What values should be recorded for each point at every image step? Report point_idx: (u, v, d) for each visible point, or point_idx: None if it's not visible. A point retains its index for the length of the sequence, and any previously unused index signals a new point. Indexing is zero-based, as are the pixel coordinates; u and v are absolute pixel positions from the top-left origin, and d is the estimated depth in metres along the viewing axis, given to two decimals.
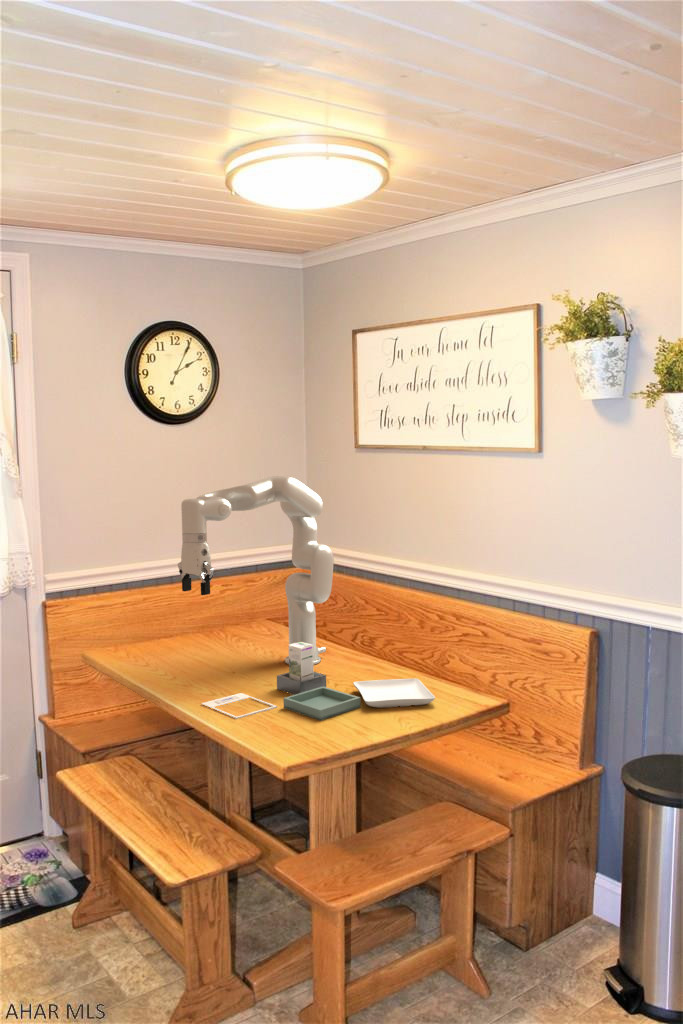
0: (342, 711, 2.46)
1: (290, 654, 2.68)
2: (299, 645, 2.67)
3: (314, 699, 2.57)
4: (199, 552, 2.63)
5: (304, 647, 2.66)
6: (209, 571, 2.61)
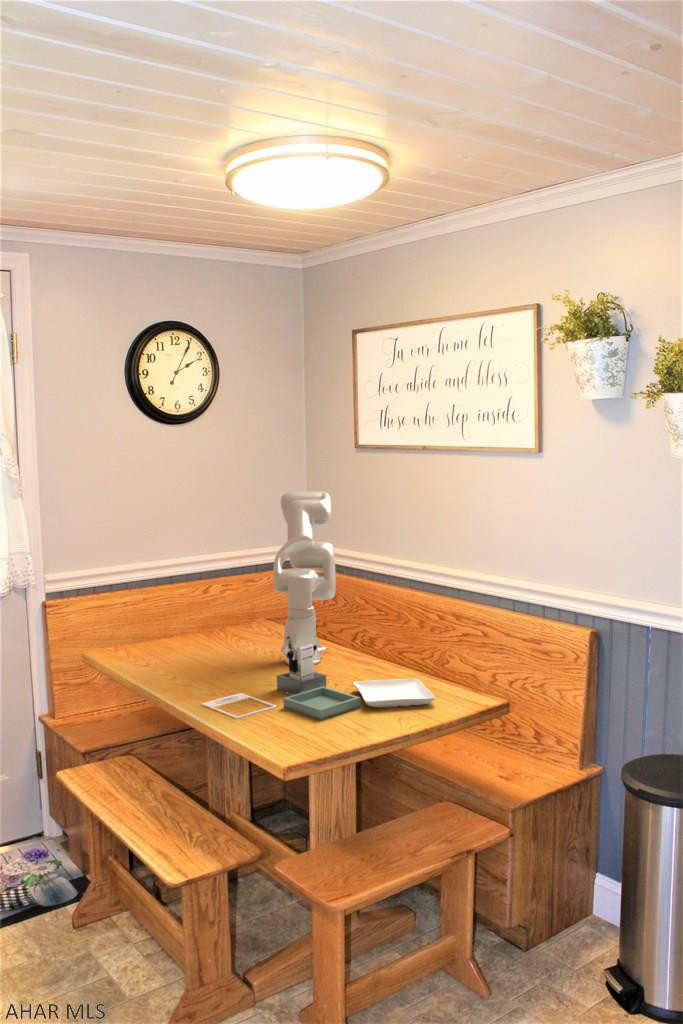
0: (342, 711, 2.46)
1: None
2: None
3: (314, 699, 2.57)
4: None
5: (304, 647, 2.66)
6: (318, 643, 2.73)
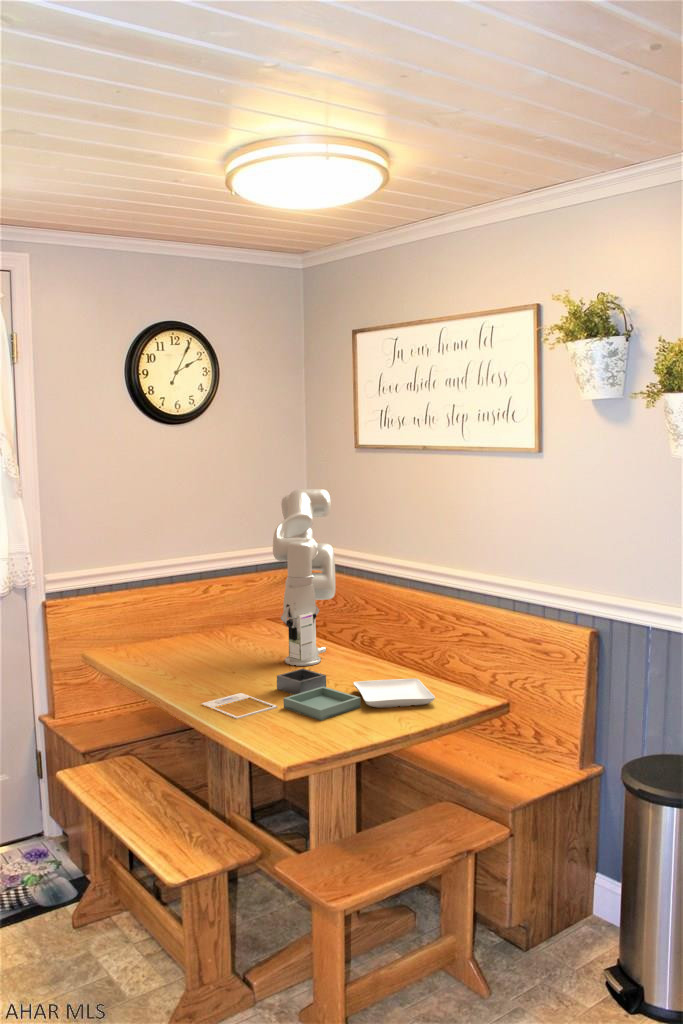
0: (342, 711, 2.46)
1: None
2: None
3: (314, 699, 2.57)
4: None
5: (304, 615, 2.65)
6: (317, 611, 2.72)
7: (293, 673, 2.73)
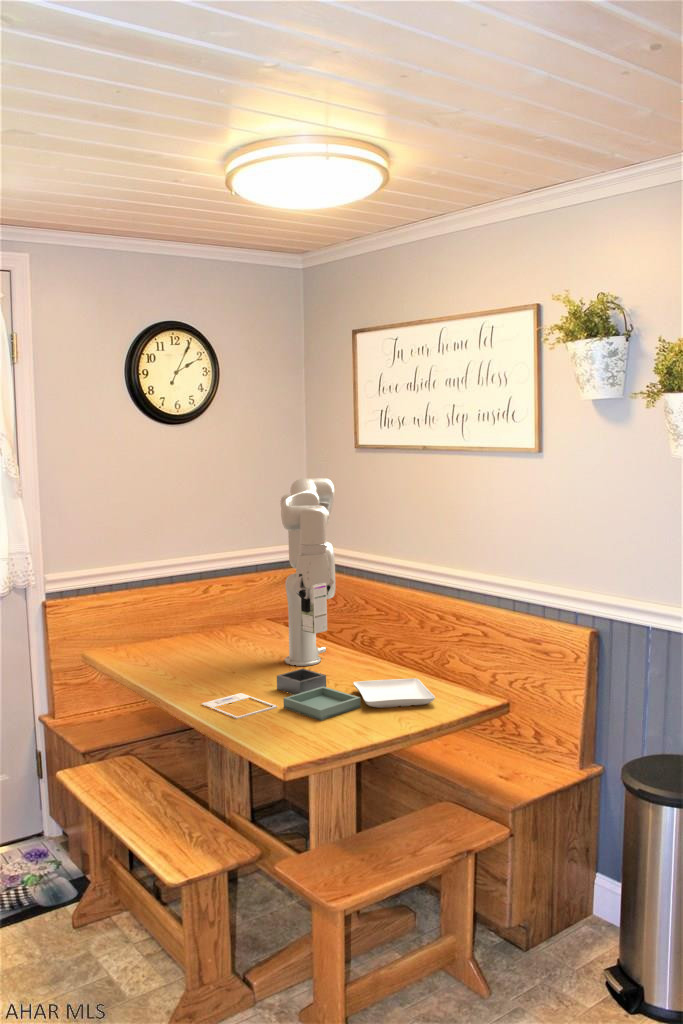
0: (342, 711, 2.46)
1: None
2: None
3: (314, 699, 2.57)
4: None
5: (317, 585, 2.51)
6: (331, 583, 2.58)
7: (293, 673, 2.73)
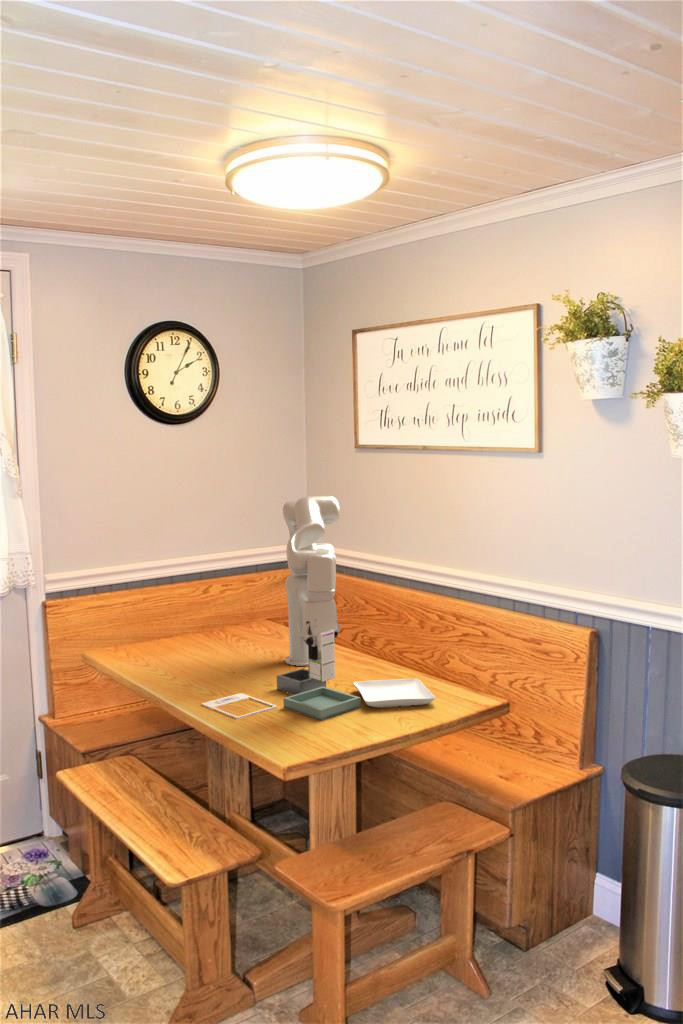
0: (342, 711, 2.46)
1: None
2: None
3: (314, 699, 2.57)
4: None
5: (325, 633, 2.47)
6: (339, 628, 2.54)
7: (293, 673, 2.73)
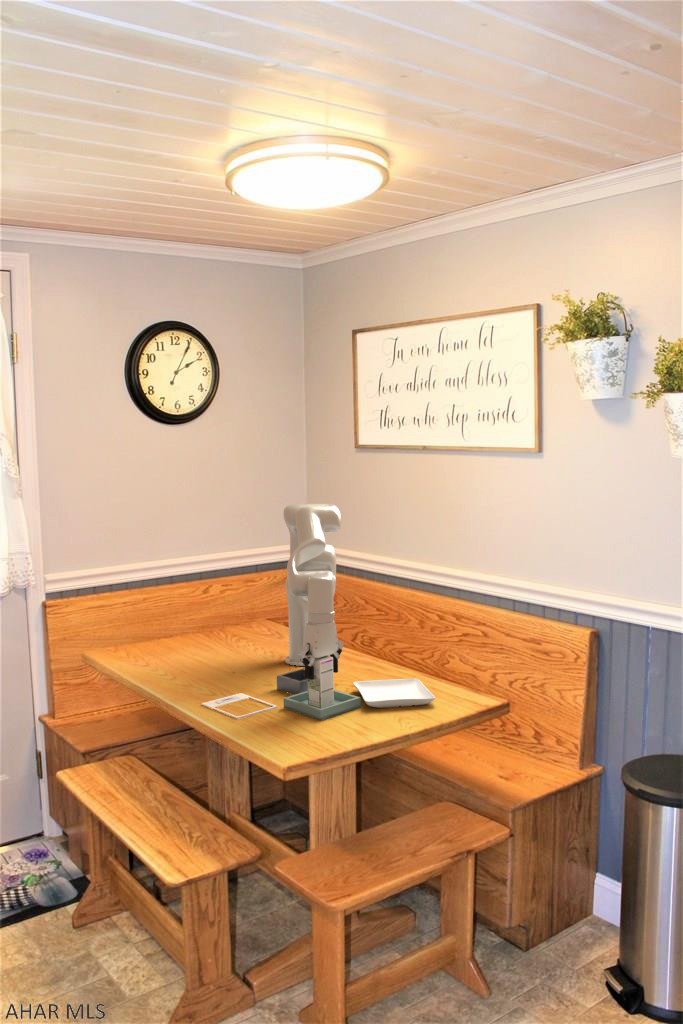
0: (342, 711, 2.46)
1: None
2: (318, 658, 2.49)
3: None
4: None
5: (324, 660, 2.48)
6: (342, 645, 2.55)
7: (293, 673, 2.73)
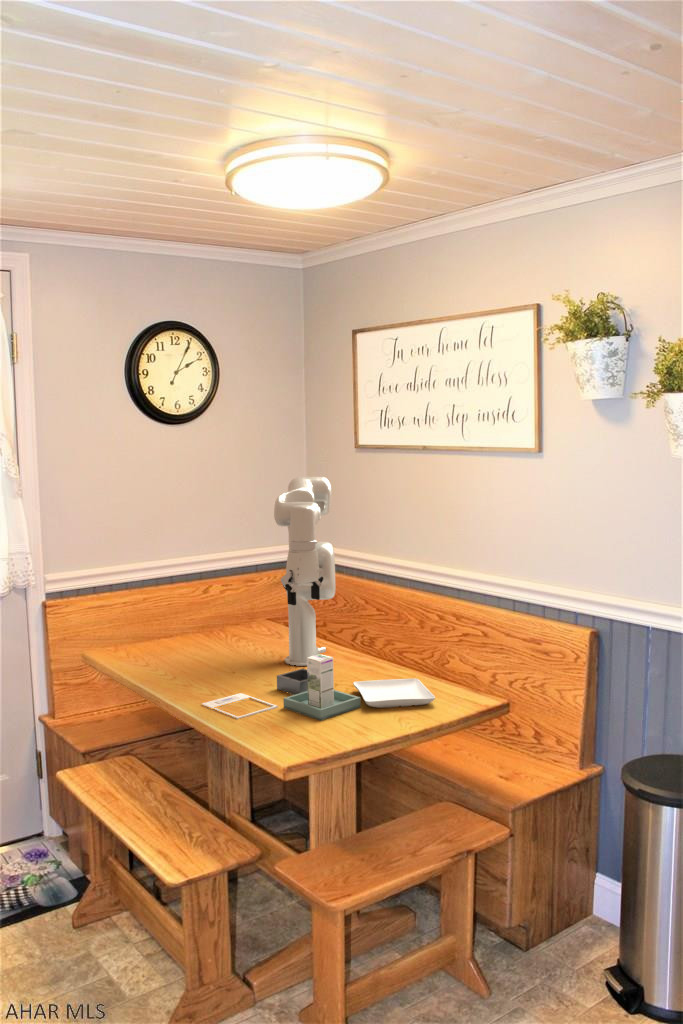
0: (342, 711, 2.46)
1: (309, 667, 2.50)
2: (318, 658, 2.49)
3: None
4: None
5: (324, 660, 2.48)
6: (323, 573, 2.64)
7: (293, 673, 2.73)
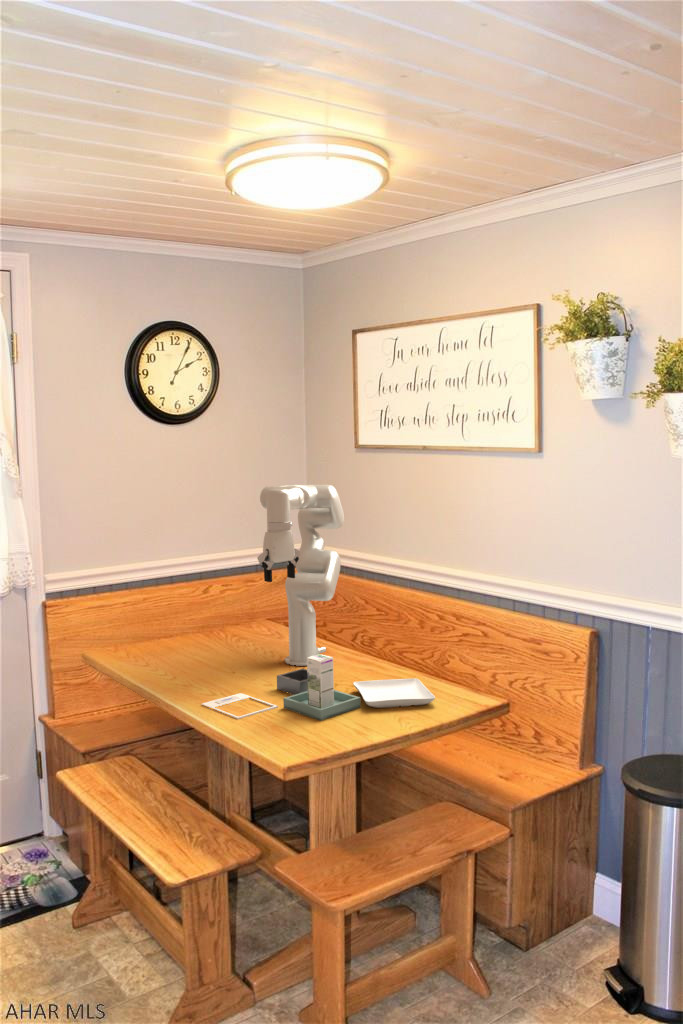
0: (342, 711, 2.46)
1: (309, 667, 2.50)
2: (318, 658, 2.49)
3: None
4: None
5: (324, 660, 2.48)
6: (299, 553, 2.81)
7: (293, 673, 2.73)
